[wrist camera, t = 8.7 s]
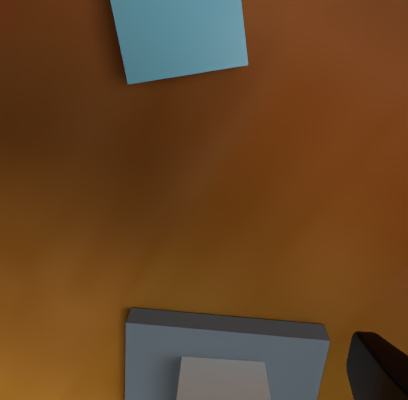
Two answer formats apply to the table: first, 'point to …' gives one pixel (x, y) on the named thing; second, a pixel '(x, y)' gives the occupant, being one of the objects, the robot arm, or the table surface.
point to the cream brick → (222, 380)
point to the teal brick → (179, 37)
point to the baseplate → (221, 351)
